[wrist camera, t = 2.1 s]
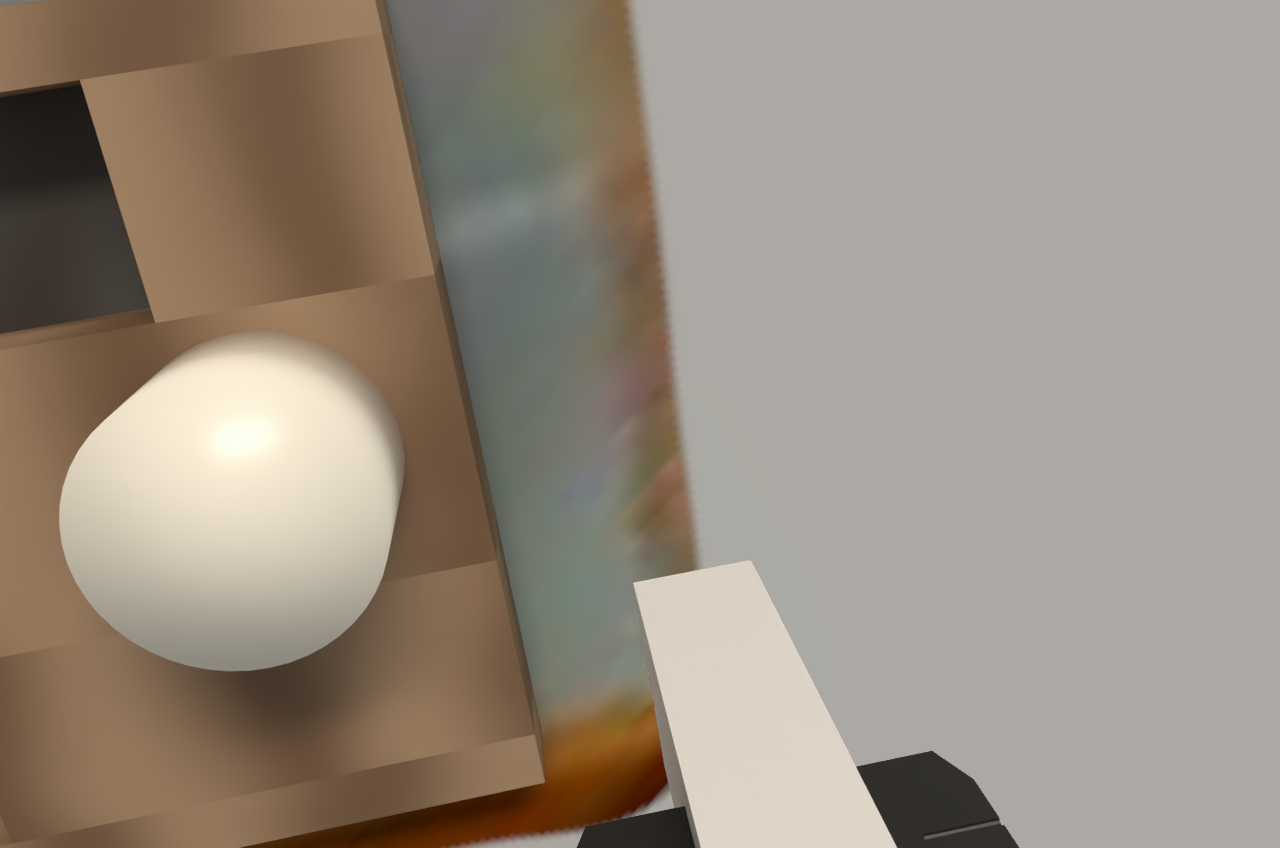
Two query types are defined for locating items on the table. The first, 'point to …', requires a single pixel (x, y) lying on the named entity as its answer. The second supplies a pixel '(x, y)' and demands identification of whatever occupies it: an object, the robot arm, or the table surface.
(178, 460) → the white rounded block
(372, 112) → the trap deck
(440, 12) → the table surface
